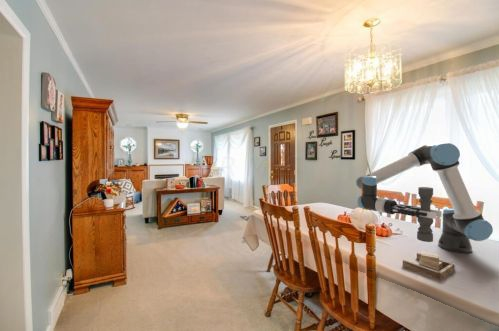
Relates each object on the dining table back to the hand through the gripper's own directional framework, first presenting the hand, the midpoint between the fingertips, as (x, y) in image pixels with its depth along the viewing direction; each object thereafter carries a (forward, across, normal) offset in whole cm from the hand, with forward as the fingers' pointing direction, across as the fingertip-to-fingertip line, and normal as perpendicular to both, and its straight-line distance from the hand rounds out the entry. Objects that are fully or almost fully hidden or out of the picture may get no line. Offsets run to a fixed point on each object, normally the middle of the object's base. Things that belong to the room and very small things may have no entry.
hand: (438, 215), depth 109 cm
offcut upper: (-6, -6, -25) cm, 27 cm away
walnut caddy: (-5, -3, -28) cm, 28 cm away
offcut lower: (-5, -7, -28) cm, 30 cm away
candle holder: (-5, 0, -13) cm, 14 cm away
